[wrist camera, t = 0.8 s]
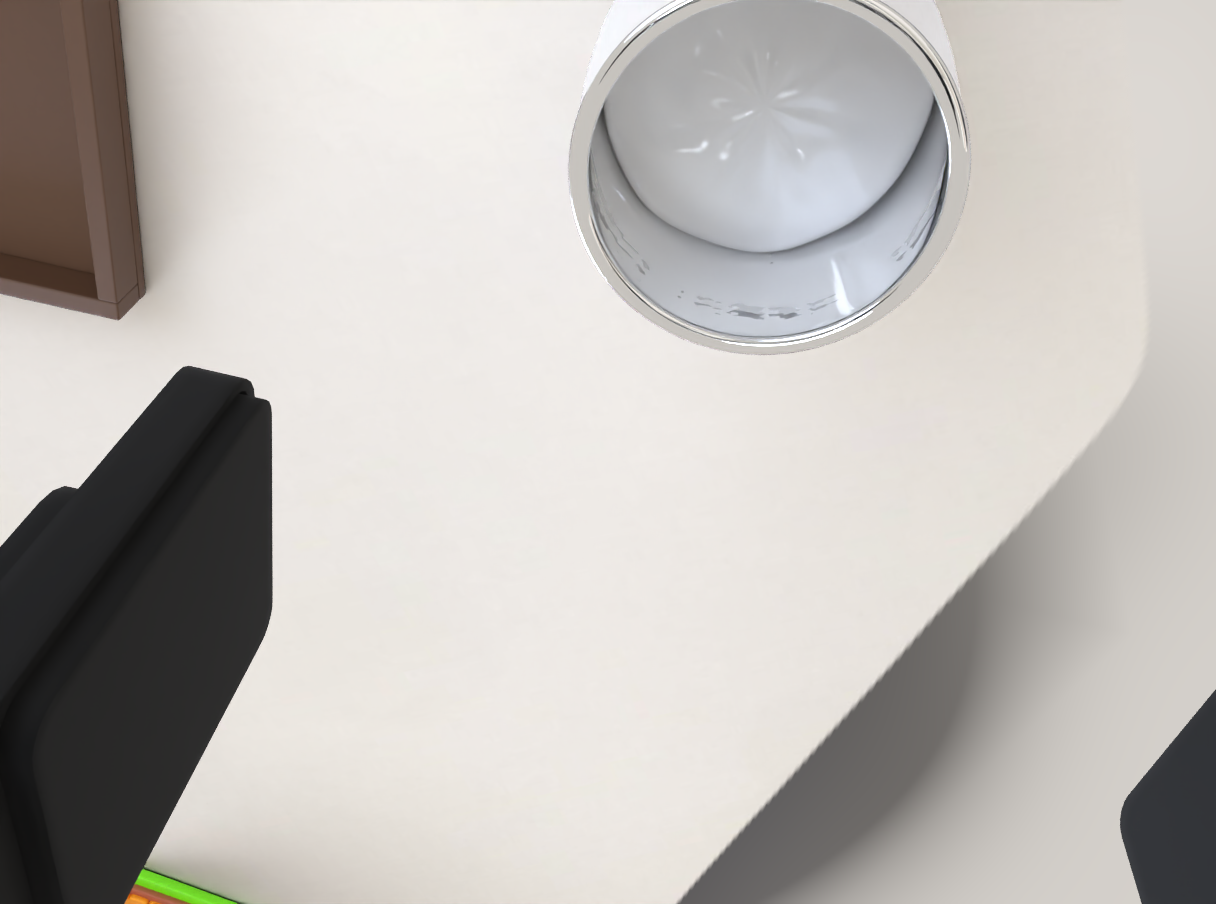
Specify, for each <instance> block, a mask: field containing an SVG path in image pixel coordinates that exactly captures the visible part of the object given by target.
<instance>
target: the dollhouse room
mask: <svg viewBox="0 0 1216 904" xmlns="http://www.w3.org/2000/svg"><path fill="white" fill-rule="evenodd" d="M124 904H238V903H235V902H232V901H230V900H227V899H224V898H221V897H219V896H216V895H213V894H211V893H208V892H205V891H202V890H200V889H197V888H194V887H192V886H189V885H186V884H183V883H181V882H178V881H175V880H172V879H169V878H167V877H164V876H161V875H158V874H156V873H153V872H150V871H147V870H144V869H142V871H141V873H140V875H139V877H138V879H137V880H136V882H135V884H134V886H133V888H132V890H131V892H130V894H129V896H128V898H127V899H126V901H125V903H124Z"/></svg>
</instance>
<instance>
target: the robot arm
mask: <svg viewBox="0 0 1216 904" xmlns="http://www.w3.org/2000/svg"><path fill="white" fill-rule="evenodd" d="M271 611H272V412H271V405H270V403H269V401H267V400H265V399H260V398H256V397H255V396H254V388H253V386H252V383H251V382H250V381H249V380H247V379H244V378H240V377H236V376H231V375H227V374H222V373H218V372H214V371H209V370H205V369H201V368H196V367H192V366H186V367H183V368H181V369H180V370H179V371H178V372H177V373H176V374H175V375H174V376H173V377H172V379H171V380H170V381H169V382H168V383H167V385H166V386H165V387H164V388H163V389H162V391H161V392H160V393H159V394H158V395H157V396H156V398H155V399H154V400H153V401H152V402H151V404H150V405H149V406H148V407H147V408H146V409H145V411H144V412H143V413H142V414H141V415H140V417H139V418H138V419H137V420H136V421H135V422H134V424H133V425H132V426H131V427H130V428H129V430H128V431H127V432H126V433H125V434H124V435H123V437H122V438H121V439H120V440H119V441H118V443H117V444H116V445H115V446H114V447H113V448H112V450H111V451H110V452H109V453H108V454H107V456H106V457H105V458H104V459H103V460H102V461H101V463H100V464H99V465H98V466H97V467H96V469H95V470H94V471H93V472H92V473H91V474H90V476H89V477H88V478H87V479H86V480H85V482H84V483H83V484H82V485H81V486H80V487H79V489H76V488H71V487H67V486H64V487H61V488H58V489H56V490H53V491H52V492H51V493H50V494H48V495H47V496H46V497H45V498H44V499H43V500H42V501H41V502H39V504H38V505H37V506H36V507H35V508H34V509H33V510H32V512H31V513H30V514H29V515H28V516H27V517H26V518H25V519H24V521H23V522H22V523H21V524H20V525H19V526H18V527H17V529H16V530H15V531H14V532H13V533H12V534H11V535H10V537H9V538H8V539H7V540H6V541H5V542H4V543H3V545H2V546H1V547H0V904H124V903H125V901H126V899H127V898H128V896H129V894H130V892H131V890H132V888H133V886H134V884H135V882H136V880H137V879H138V877H139V875H140V873H141V871H142V869H143V867H144V865H145V863H146V861H147V859H148V858H149V856H150V854H151V852H152V850H153V848H154V846H155V844H156V842H157V840H158V839H159V837H160V835H161V833H162V831H163V829H164V827H165V825H166V823H167V821H168V819H169V818H170V816H171V814H172V812H173V810H174V808H175V806H176V804H177V802H178V800H179V799H180V797H181V795H182V793H183V791H184V789H185V787H186V785H187V783H188V781H189V779H190V778H191V776H192V774H193V772H194V770H195V768H196V766H197V764H198V762H199V760H200V759H201V757H202V755H203V753H204V751H205V749H206V747H207V745H208V743H209V741H210V739H211V738H212V736H213V734H214V732H215V730H216V728H217V726H218V724H219V722H220V720H221V718H222V717H223V715H224V713H225V711H226V709H227V707H228V705H229V703H230V701H231V699H232V698H233V696H234V694H235V692H236V690H237V688H238V686H239V684H240V682H241V680H242V678H243V677H244V675H245V673H246V671H247V669H248V667H249V665H250V663H251V661H252V659H253V658H254V656H255V654H256V652H257V650H258V648H259V646H260V644H261V642H262V640H263V638H264V636H265V633H266V630H267V627H268V624H269V620H270V616H271ZM1120 828H1121V834H1122V839H1123V842H1124V845H1125V849H1126V852H1127V856H1128V859H1129V862H1130V865H1131V869H1132V872H1133V876H1134V879H1135V882H1136V885H1137V889H1138V892H1139V896H1140V899H1141V902H1142V904H1216V690H1215V691H1214V692H1213V693H1212V695H1211V696H1210V697H1209V698H1208V699H1207V701H1206V702H1205V703H1204V704H1203V706H1202V707H1201V708H1200V709H1199V710H1198V712H1197V713H1196V714H1195V715H1194V717H1193V718H1192V719H1191V720H1190V721H1189V723H1188V724H1187V725H1186V726H1185V727H1184V729H1183V730H1182V731H1181V732H1180V733H1179V735H1178V736H1177V737H1176V738H1175V739H1174V741H1173V742H1172V743H1171V744H1170V745H1169V747H1168V748H1167V749H1166V750H1165V751H1164V753H1163V754H1162V755H1161V757H1160V758H1159V759H1158V760H1157V761H1156V762H1155V764H1154V765H1153V766H1152V767H1151V769H1150V770H1149V771H1148V772H1147V773H1146V775H1145V776H1144V777H1143V778H1142V779H1141V781H1140V782H1139V783H1138V784H1137V786H1136V787H1135V788H1134V789H1133V790H1132V791H1131V793H1130V794H1129V795H1128V797H1127V798H1126V800H1125V802H1124V805H1123V808H1122V811H1121V818H1120Z"/></svg>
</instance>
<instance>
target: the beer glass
mask: <svg viewBox="0 0 1216 904" xmlns="http://www.w3.org/2000/svg"><path fill="white" fill-rule="evenodd" d="M970 169H971V144H970V134H969V127H968V122H967V117H966V113H965V109H964V106H963V102H962V99H961V94H960V87H959V81H958V76H957V70H956V65H955V60H954V56H953V52H952V48H951V45H950V41H949V38H948V35H947V32H946V29H945V26H944V23H943V20H942V17H941V15H940V12H939V9H938V7H937V5H936V3H935V1H934V0H614V2H613V4H612V5H611V7H610V9H609V11H608V13H607V15H606V17H605V20H604V22H603V24H602V27H601V29H600V32H599V35H598V38H597V41H596V44H595V47H594V50H593V52H592V55H591V59H590V62H589V65H588V69H587V73H586V78H585V82H584V87H583V92H582V97H581V102H580V108H579V110H578V113H577V116H576V120H575V123H574V127H573V132H572V136H571V142H570V149H569V161H568V180H569V193H570V199H571V205H572V210H573V214H574V218H575V222H576V225H577V228H578V231H579V234H580V236H581V239H582V241H583V244H584V246H585V248H586V250H587V252H588V254H589V256H590V258H591V259H592V261H593V263H594V264H595V266H596V268H597V269H598V271H599V272H600V274H601V275H602V276H603V278H604V279H605V280H606V282H607V283H608V284H609V285H610V287H611V288H612V289H613V290H614V291H615V292H616V293H617V294H618V296H619V297H620V298H621V299H622V300H623V301H624V302H626V303H627V304H628V305H629V306H630V307H631V308H632V309H634V310H635V311H636V312H637V313H639V314H640V315H641V316H642V317H644V318H645V319H647V320H648V321H650V322H651V323H653V324H654V325H656V326H657V327H659V328H661V329H663V330H665V331H666V332H668V333H670V334H672V335H674V336H677V337H679V338H681V339H683V340H686V341H688V342H691V343H694V344H697V345H700V346H703V347H707V348H711V349H715V350H719V351H725V352H730V353H738V354H749V355H775V354H786V353H794V352H800V351H805V350H810V349H814V348H818V347H821V346H825V345H828V344H831V343H834V342H837V341H839V340H842V339H844V338H847V337H849V336H851V335H853V334H855V333H857V332H859V331H861V330H863V329H865V328H867V327H869V326H870V325H872V324H874V323H875V322H877V321H879V320H880V319H882V318H883V317H885V316H886V315H887V314H889V313H890V312H891V311H893V310H894V309H895V308H897V307H898V306H899V305H900V304H901V303H903V302H904V301H905V300H906V299H907V298H908V297H909V296H910V295H911V294H912V293H913V292H914V291H915V290H916V289H917V288H918V287H919V286H920V285H921V284H922V283H923V281H924V280H925V279H926V278H927V277H928V275H929V274H930V273H931V272H932V270H933V269H934V268H935V266H936V265H937V263H938V262H939V260H940V259H941V257H942V256H943V254H944V252H945V250H946V249H947V247H948V245H949V243H950V241H951V239H952V237H953V235H954V233H955V231H956V228H957V226H958V223H959V220H960V217H961V215H962V211H963V208H964V205H965V201H966V196H967V191H968V186H969V179H970Z"/></svg>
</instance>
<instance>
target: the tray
mask: <svg viewBox="0 0 1216 904" xmlns="http://www.w3.org/2000/svg"><path fill="white" fill-rule="evenodd" d="M145 293H146V292H145V282H144V271H143V261H142V251H141V241H140V230H139V220H138V210H137V199H136V189H135V179H134V168H133V158H132V148H131V137H130V127H129V117H128V106H127V96H126V86H125V76H124V65H123V55H122V45H121V34H120V24H119V14H118V3H117V0H0V294H3V295H8V296H12V297H17V298H21V299H26V300H30V301H34V302H39V303H43V304H48V305H52V306H57V307H61V308H66V309H70V310H74V311H79V312H83V313H88V314H92V315H97V316H101V317H106V318H110V319H114V320H120V319H121V318H122V317H123V316H124V315H125V314H126V313H127V312H128V311H129V310H130V309H131V308H132V307H133V306H134V305H135V304H136V303H137V302H138V300H139V299H141V298H142V297H143V296H144V295H145Z"/></svg>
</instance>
